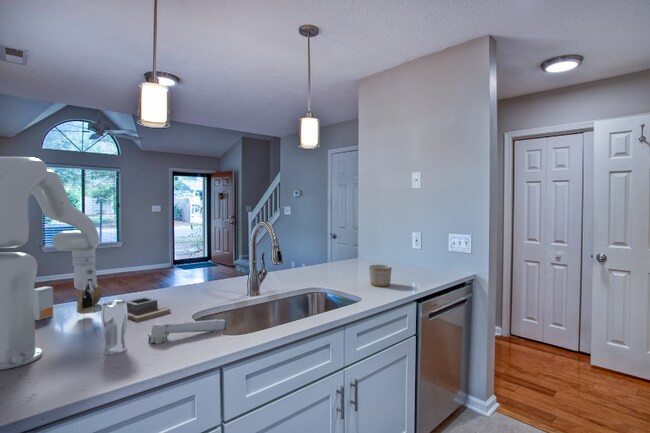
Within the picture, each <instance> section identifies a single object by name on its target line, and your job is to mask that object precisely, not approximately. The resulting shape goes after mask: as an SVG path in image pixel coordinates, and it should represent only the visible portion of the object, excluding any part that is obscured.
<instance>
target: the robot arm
mask: <svg viewBox="0 0 650 433" xmlns="http://www.w3.org/2000/svg"><path fill="white" fill-rule="evenodd" d="M66 190H67V189H66V188H65V186H64V183H63V182H62V179H61V177H60V175H59V174H58V173H57V172H56V171H54V170H52V169H49V168H48V167H47V164H46V163H45V162H44V161H43V160H41V159H39V158H36V157H30V156H29V157H28V156H0V249H9V248H10V249H12V248H19V247H22V246H24V245H25V244H27V242H28V241H29V235H30V224H29V223H30V222H29V219H30V218H29V199H30V196H31V195H33V196H34V197H35V199H36V201H37V203H38V205H39V207H40V209H41V211H42V213H43V215H44V216H45V217H47V218H49V219H51V220H54V221H56V222H60V223H63V224H66V225H69V226H70V227H71V226H72V227H73V228H75V229H76V230H62V231H59V232H57V233H55V235H54V236H53V237H52V246H53V247H54V248H55V249H56V250H58V251H63V252H72V266H73V268H74V269H73V286H74V288H75V289H76V290H77V289H80V290H83V298H82V308H89V307H92V293H93V292H94V289H96V288H97V285H98V278H97V269H96V262H97V261H96V249H97V247H98V246H99V244H100V236H99V233H98V230H97V227H96V225H95V223H94V221H93V220H92V218H90V217H89V216H88V215H87V214H85V213H84V212H83V211H81V210H79V209H78V208H76V207H75V206H73V204H72V202H71V200H70V197H69V195H68V193H67V191H66ZM38 266H39V265H38V262H37V259H36V258H35V256H33V255H32V254H29V253H26V252H18V251H17V252H16V251H15V252H14V251H12V252H11V251H9V252H8V251H7V252H6V251H4V252H0V371H1V370H7V369H8V370H9V369H12V368H17V367H20V366H24V365H27V364H29V363H32V362H34V361H36V360H38V359H39V358H40V357H41V356H43V349H41V348H40V347H36V322H35V321H36V320H35V314H34V289H35V283H36V278H37V273H38ZM86 288H88V289H89V290H86ZM86 291H88V292H87V293H86Z"/></svg>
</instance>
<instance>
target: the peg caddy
mask: <svg viewBox="0 0 650 433" xmlns="http://www.w3.org/2000/svg"><path fill="white" fill-rule="evenodd" d="M125 301H126V302H127V313H128V319H127V320H130V321H133V322H136V323H137V322H141V321H145V320H149V319H152V318H155V317H160V316H162V315H167V314H170V313H171V308H168V307H165V306H163V305H162V306H161V305H159V304H158V299H156V298H151V297H148V296H144V297H140V298H134V299H130V300H125Z"/></svg>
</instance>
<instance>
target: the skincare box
mask: <svg viewBox="0 0 650 433" xmlns="http://www.w3.org/2000/svg"><path fill="white" fill-rule="evenodd" d="M34 314H35V321H41V320H45V319H47V318H50V317H53V316H54V287H53V286H47V285H45V286H42V287H37V288H34Z"/></svg>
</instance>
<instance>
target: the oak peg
mask: <svg viewBox="0 0 650 433" xmlns="http://www.w3.org/2000/svg"><path fill="white" fill-rule="evenodd" d="M86 290H89V289H88V288H86ZM87 292H88V291H86V293H87ZM82 298H83V290H80V289H76V312H77V313H78V314H80V315H83V314H87V313H92V312H94V306H93V293H92V307H89V308H82Z"/></svg>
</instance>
